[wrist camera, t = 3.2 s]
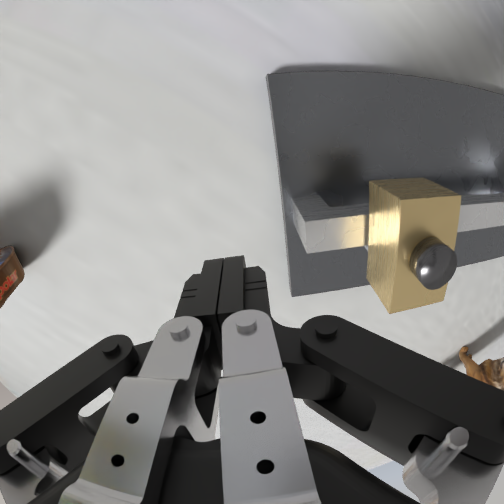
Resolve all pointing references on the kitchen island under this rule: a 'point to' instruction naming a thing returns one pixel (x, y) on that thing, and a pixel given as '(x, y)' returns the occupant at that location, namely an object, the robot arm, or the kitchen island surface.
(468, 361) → the lion figurine
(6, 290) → the tin
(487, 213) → the divider frame
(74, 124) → the kitchen island surface
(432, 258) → the block
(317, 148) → the bolt plate
